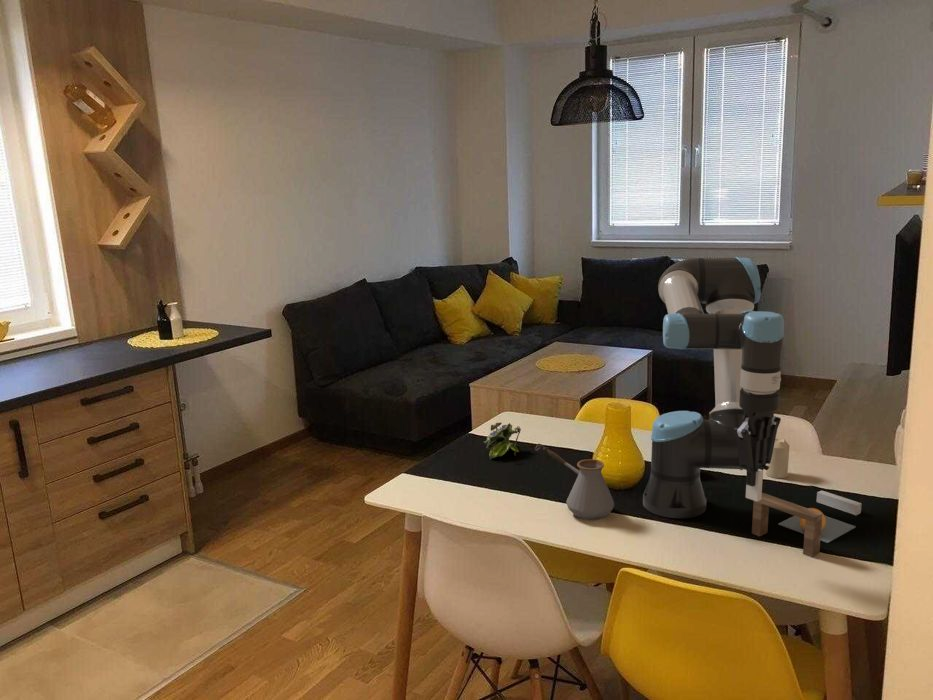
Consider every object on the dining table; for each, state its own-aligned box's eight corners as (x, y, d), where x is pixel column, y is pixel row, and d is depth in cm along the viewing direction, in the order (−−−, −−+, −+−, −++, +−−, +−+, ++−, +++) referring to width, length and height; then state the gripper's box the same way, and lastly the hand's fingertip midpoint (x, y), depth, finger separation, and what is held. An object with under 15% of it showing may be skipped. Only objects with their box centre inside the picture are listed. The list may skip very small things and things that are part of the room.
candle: (783, 470, 214) (786, 436, 211) (790, 478, 208) (792, 443, 206) (763, 470, 214) (765, 435, 212) (768, 478, 209) (770, 443, 207)
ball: (807, 500, 181) (810, 518, 183) (792, 513, 179) (795, 531, 181) (829, 508, 176) (832, 527, 179) (814, 521, 174) (817, 541, 176)
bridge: (811, 557, 168) (814, 517, 166) (751, 533, 179) (753, 495, 177) (819, 553, 170) (822, 513, 167) (759, 529, 181) (761, 492, 179)
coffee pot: (622, 511, 193) (623, 453, 189) (598, 528, 184) (599, 468, 180) (549, 490, 206) (549, 436, 202) (524, 505, 197) (523, 449, 194)
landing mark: (778, 524, 183) (778, 523, 183) (806, 510, 190) (806, 509, 190) (827, 543, 174) (827, 542, 174) (855, 527, 181) (855, 526, 181)
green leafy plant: (496, 467, 237) (503, 429, 241) (526, 468, 230) (533, 429, 234) (474, 456, 229) (482, 417, 233) (504, 456, 222) (512, 416, 226)
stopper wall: (816, 501, 194) (817, 492, 194) (820, 499, 195) (821, 490, 195) (856, 515, 186) (857, 505, 186) (860, 513, 188) (861, 503, 187)
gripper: (757, 400, 151) (750, 513, 157) (795, 387, 159) (787, 495, 164) (723, 391, 157) (718, 501, 163) (762, 379, 165) (755, 484, 170)
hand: (753, 498), depth 164 cm, fingers closed
